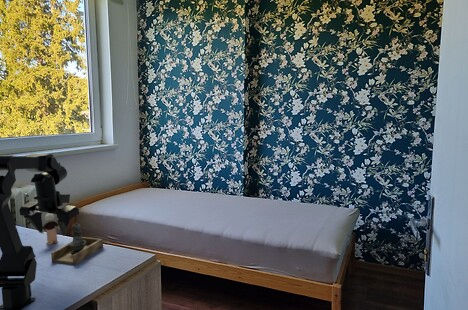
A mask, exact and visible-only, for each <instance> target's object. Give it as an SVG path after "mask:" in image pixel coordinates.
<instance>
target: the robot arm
mask: <svg viewBox="0 0 468 310" xmlns="http://www.w3.org/2000/svg"><path fill="white" fill-rule="evenodd" d="M16 170H26V171H28V172H32V173H33V172H39V173H34V175H33V177H32V178H31V180H30V183H34V187H35V193H36V194H35V195H33V199H34V200H37V201H31V200H30V201H29V202H27V203H25V204H23V205H22V206H21V205H20V208H19V210H18V212H19V216H23V218H24V219H26V220H27V221H28V222H29V223H30V224H31V225H33V227H34V228H35V230H37V232H39V233H40V234H42V233H41V232H43V226H44V225H43V220H42V215H43V214H48V213H50V214H53V215H56V218H57V219H58V220H56V222H57V223H58V225H59V227H60V229H59V230H60V232H61V235H62V236H63V237H64V236H66V235H67V232H68V228H69V225H70V222H71V220H72V219H73V218H75V217H77V216H78V215H79V214H80V210H79V207H78V206H77V205H66V206H64V207H62V206H63V204H70V201H71V200H70V199H71V194H70V193H62V192H60V191H59V190H57V189H56V185H58V184H60V183H61V182H62V181H63V180H65V179H66V177H67V176H68V171H67V169H66V168H65V166H63V165H61V162H60V161H58V160H57V159H56V157H54V154H52V153H30V154H27V155H26V156H22V155H21V156H16V155H13V154H10V155H9V154H4V155H3V154H0V171H7V173H6V174H5V175H0V252H1V256H0V288H1V298H2V299H1V300H2V304H1V305H0V310H22V309H24V308H26V307H27V306H28V305H30V304H31V303H33V302H34V301H36V297H32V289H31V287H32V286H31V284H32V283H33V282H34V281H35V280H36V275H37V265H38V264H37V259H36V254H35V252H34V248H33V247H32V246H31V245H23V242H22V240H21V236H20V234H19V231H18V228H17V226H16V223H15V220H14V217H13V214H12V211H11V208H10V205H9V201H10V199H11V197H12V194H13V191H12V188H13V186H14V185H15V182H16V181H17V178H16V173H15V172H16ZM59 207H62V208H59Z"/></svg>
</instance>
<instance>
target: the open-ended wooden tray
mask: <svg viewBox="0 0 468 310" xmlns="http://www.w3.org/2000/svg"><path fill="white" fill-rule="evenodd" d="M82 240H85V241H86V243H85V247H84V248H83V249H82V250H81V251H79V252H77V253H76V254H74V255H72V254H71V252H72V251H73V250H72V249H71V247H70V245H69V243H71V242H72V241H70V242H68V243H66V244H65V245H64V244H63V246H61V247H59V248H57V249H55V250H53V251H51V252H50V253H51V254H50V256H51V257H50V258H51V263H58V264H65V265H71V266H72V265H74V266H77V265H78V264H80V263H81V262H82V261H84V260H86V259H88V258H89V257H91V256H92V255H93V254H96V253H97V252H98V251H100V250H101V249H103V248H104V239H103V238H96V237H86V236H82Z"/></svg>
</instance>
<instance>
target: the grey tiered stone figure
mask: <svg viewBox="0 0 468 310" xmlns="http://www.w3.org/2000/svg"><path fill="white" fill-rule="evenodd" d="M82 234H83V231H82V227H81V223H78V221H75V223H74V224H72V232H71V235H72V241H70V242H71V243H70V242H68V243H69V245H70V247H71V249H72V250H73V251H72V252H71V254H72V255H74V254H76V253H77V252H79V251H81V250H82V249H83V248H84V247H85V243H86V241H85V240H82V237H83V236H82Z"/></svg>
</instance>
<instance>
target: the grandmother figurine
mask: <svg viewBox="0 0 468 310" xmlns="http://www.w3.org/2000/svg"><path fill="white" fill-rule="evenodd" d="M44 219H45V220H46V222H47V223H44V225H42V226H43V232H41V233H40V234H41V235H42V234H44V233H45V230H46V241H47V242H46V245H47V246H52V245H53V244H57V243H59V241H58V234H57V230H60V227H59V225H58V222H57V221H56V220H54V219H55V214H50V213H45V216H44ZM56 228H57V230H56Z"/></svg>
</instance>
